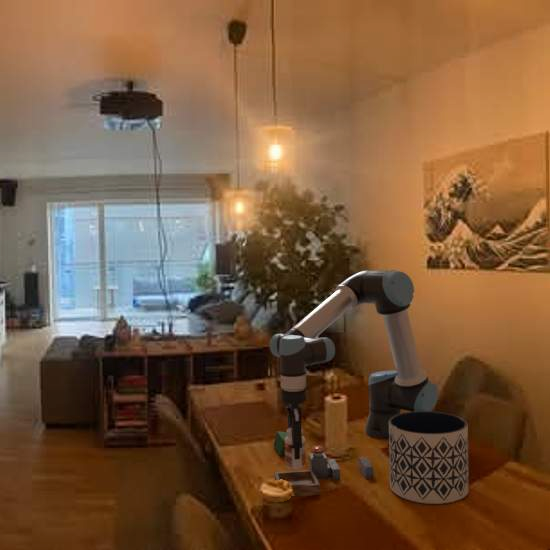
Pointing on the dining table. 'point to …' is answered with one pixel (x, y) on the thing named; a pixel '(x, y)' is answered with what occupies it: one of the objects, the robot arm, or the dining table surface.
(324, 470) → the socket
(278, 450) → the clamp
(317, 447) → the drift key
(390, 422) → the planter
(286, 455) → the pill bottle
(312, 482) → the tray
